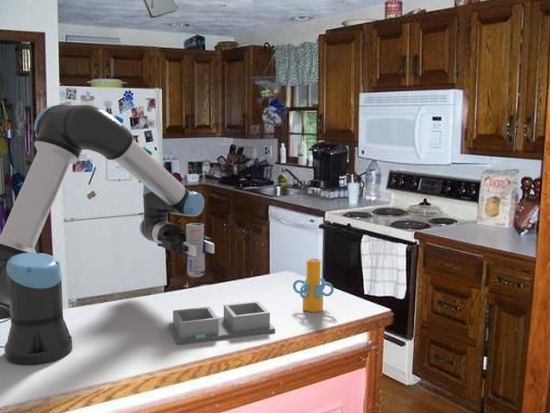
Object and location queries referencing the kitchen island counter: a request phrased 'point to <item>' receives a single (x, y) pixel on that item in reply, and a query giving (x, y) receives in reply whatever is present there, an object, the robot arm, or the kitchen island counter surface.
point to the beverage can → (197, 239)
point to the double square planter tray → (220, 323)
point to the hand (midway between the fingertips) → (204, 249)
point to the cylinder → (313, 287)
